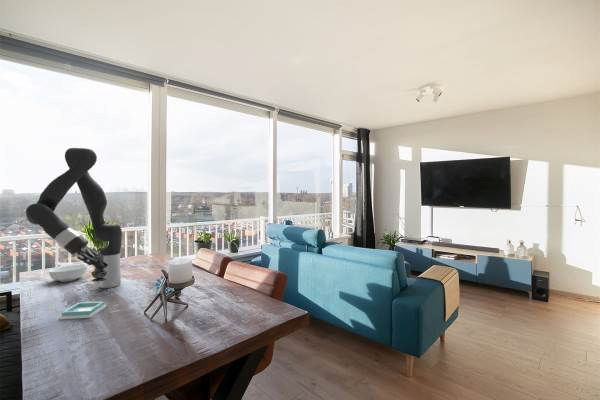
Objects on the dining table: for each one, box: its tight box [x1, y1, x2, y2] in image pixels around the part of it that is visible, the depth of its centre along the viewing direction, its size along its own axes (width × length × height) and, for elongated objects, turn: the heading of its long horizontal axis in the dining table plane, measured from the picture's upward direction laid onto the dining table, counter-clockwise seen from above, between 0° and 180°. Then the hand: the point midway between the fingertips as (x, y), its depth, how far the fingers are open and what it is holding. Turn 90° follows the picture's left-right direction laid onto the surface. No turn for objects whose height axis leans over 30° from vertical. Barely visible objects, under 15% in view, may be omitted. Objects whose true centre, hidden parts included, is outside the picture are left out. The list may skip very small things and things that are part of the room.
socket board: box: [58, 301, 108, 320], centre depth 119 cm, size 12×12×2 cm
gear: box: [155, 275, 174, 293], centre depth 146 cm, size 11×6×10 cm
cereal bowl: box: [48, 264, 88, 283], centre depth 165 cm, size 17×17×7 cm
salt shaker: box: [90, 251, 107, 283], centre depth 123 cm, size 6×6×12 cm
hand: (104, 267), depth 124 cm, fingers closed on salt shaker, 3 cm apart
